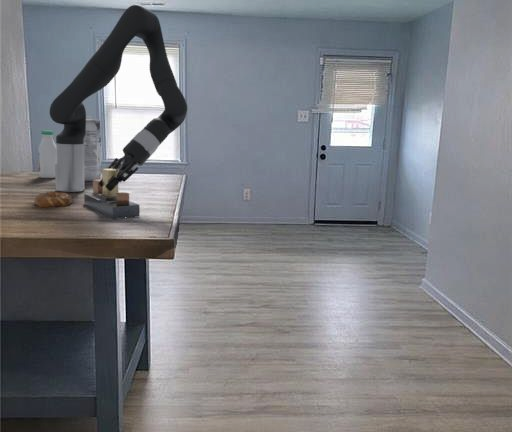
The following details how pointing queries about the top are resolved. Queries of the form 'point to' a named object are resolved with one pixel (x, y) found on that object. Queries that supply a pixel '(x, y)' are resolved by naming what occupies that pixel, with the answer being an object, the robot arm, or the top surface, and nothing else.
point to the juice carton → (92, 150)
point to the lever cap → (106, 177)
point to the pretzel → (53, 199)
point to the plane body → (111, 203)
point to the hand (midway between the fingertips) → (104, 187)
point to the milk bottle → (47, 155)
